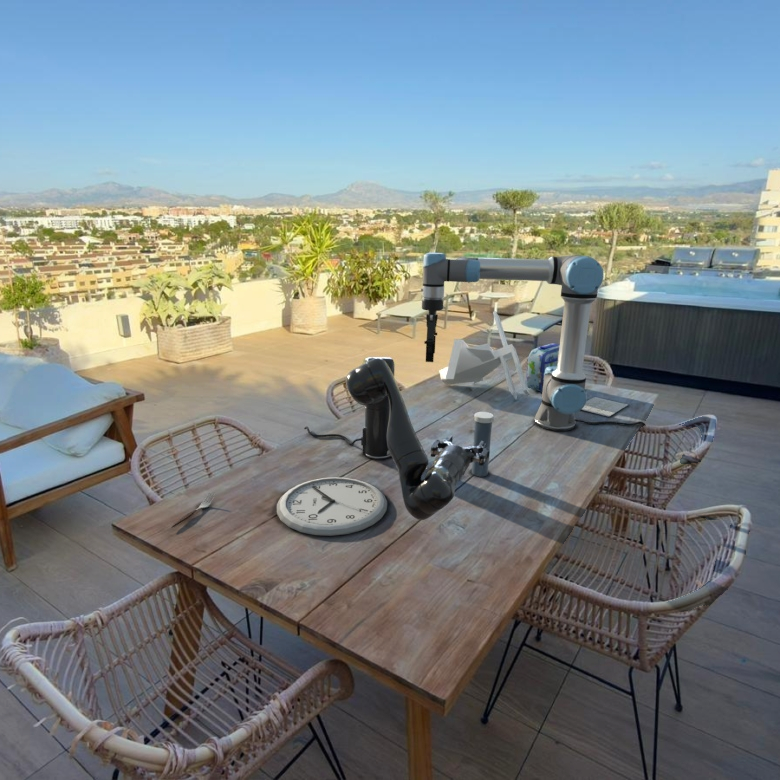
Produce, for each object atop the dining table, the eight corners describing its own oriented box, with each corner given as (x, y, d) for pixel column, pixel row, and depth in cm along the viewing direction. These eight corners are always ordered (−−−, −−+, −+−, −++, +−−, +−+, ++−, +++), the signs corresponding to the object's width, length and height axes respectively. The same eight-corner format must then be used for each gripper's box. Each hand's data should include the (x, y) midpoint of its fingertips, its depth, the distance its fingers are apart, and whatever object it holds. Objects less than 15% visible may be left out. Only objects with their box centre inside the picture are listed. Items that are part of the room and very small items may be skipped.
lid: (488, 416, 161) (488, 411, 161) (496, 422, 156) (497, 417, 156) (471, 417, 160) (471, 412, 159) (478, 424, 155) (479, 419, 154)
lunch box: (542, 395, 240) (547, 351, 233) (522, 390, 247) (526, 347, 241) (569, 384, 257) (575, 343, 251) (550, 380, 264) (554, 339, 258)
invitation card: (608, 416, 214) (573, 407, 224) (608, 416, 214) (573, 408, 224) (628, 404, 229) (594, 396, 238) (628, 405, 229) (594, 397, 238)
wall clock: (392, 527, 129) (268, 531, 127) (391, 533, 130) (269, 537, 127) (383, 473, 158) (282, 475, 155) (383, 478, 158) (282, 480, 156)
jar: (483, 468, 166) (488, 413, 161) (490, 475, 162) (495, 418, 156) (469, 470, 165) (472, 414, 159) (475, 477, 160) (479, 419, 155)
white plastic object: (461, 429, 252) (437, 405, 227) (444, 352, 274) (420, 323, 250) (535, 404, 240) (518, 377, 215) (510, 326, 262) (492, 293, 237)
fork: (167, 528, 130) (166, 521, 130) (209, 498, 145) (208, 492, 144) (175, 530, 130) (174, 523, 129) (216, 500, 144) (216, 494, 143)
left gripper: (480, 456, 121) (494, 432, 135) (422, 446, 126) (441, 424, 140) (478, 485, 123) (492, 459, 137) (421, 474, 128) (440, 450, 142)
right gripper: (424, 293, 195) (422, 349, 202) (419, 302, 172) (417, 365, 178) (444, 294, 195) (441, 350, 201) (442, 303, 171) (439, 366, 177)
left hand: (466, 441), depth 139 cm, fingers open, 8 cm apart
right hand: (430, 357), depth 190 cm, fingers open, 13 cm apart
